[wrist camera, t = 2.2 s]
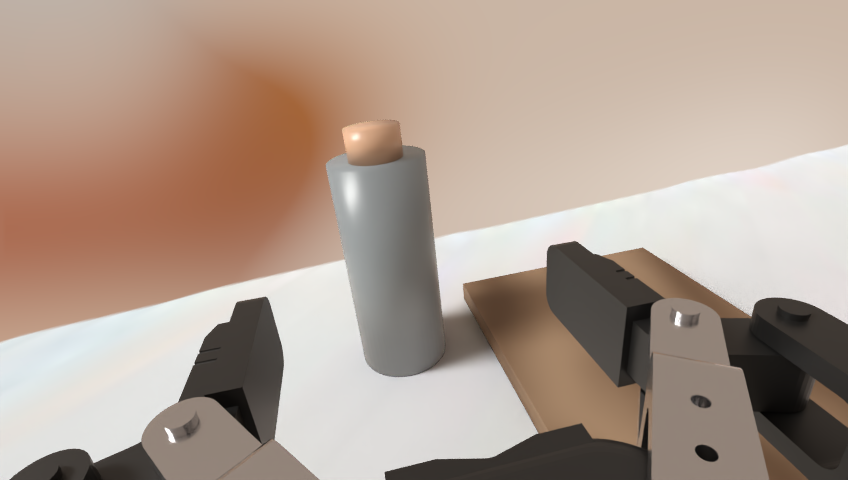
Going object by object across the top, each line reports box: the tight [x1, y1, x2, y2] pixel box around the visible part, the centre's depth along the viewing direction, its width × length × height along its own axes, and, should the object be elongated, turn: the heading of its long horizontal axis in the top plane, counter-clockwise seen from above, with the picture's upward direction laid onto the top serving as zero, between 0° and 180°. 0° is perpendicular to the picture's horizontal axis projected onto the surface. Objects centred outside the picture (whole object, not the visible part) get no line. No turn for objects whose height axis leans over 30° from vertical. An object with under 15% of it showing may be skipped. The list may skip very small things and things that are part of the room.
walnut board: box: [463, 248, 848, 480], centre depth 24 cm, size 14×18×1 cm
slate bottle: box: [326, 120, 445, 377], centre depth 24 cm, size 5×5×14 cm
